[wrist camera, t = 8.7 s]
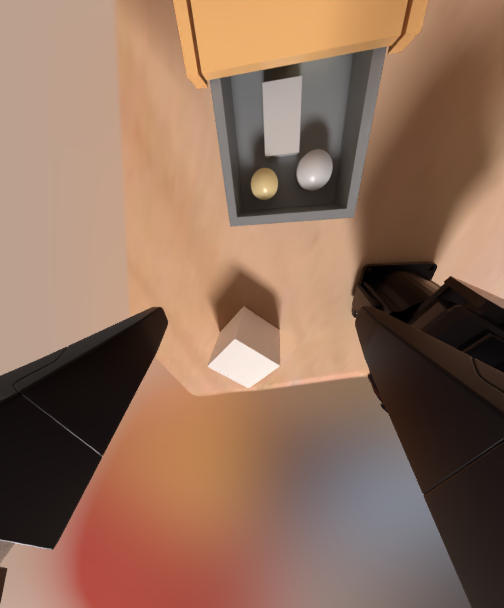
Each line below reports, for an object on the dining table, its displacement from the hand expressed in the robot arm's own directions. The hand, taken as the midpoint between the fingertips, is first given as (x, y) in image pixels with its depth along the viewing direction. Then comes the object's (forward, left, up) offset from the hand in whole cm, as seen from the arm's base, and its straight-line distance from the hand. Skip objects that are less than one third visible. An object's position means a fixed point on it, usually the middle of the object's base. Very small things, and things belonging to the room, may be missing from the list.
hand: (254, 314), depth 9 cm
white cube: (+3, +12, -13) cm, 18 cm away
